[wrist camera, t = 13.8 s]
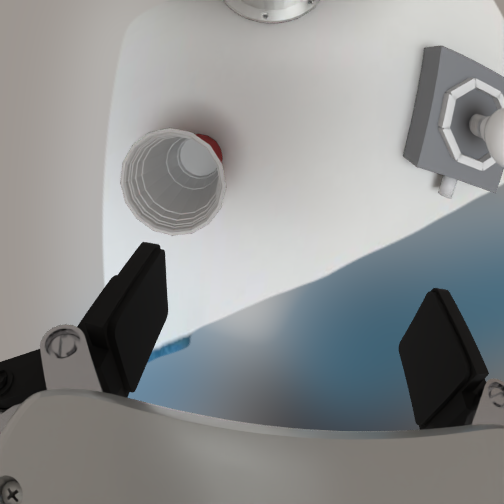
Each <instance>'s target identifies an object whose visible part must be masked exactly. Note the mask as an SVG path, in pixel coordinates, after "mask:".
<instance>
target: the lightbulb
mask: <svg viewBox="0 0 504 504" xmlns="http://www.w3.org/2000/svg"><path fill="white" fill-rule="evenodd" d="M469 128H470V130H471V132H472V133H473V134H474V135H475V136H478V137H480V138H482V139H483V140H484V141H485V142H486V146H487V149H488V151H489V153H490V155H491V156H492V158H493V159H494V160H495V162H496V163H497V164H498V165H500V166H501V167H502V168H504V108H501V109H499V110H497V111H495V112H494V113H493V114H492V115H491V116H487V117H486V116H483V115H480V114H475V115H473V116H472V117H471V119H470V121H469Z"/></svg>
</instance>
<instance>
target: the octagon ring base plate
mask: <svg viewBox="0 0 504 504" xmlns="http://www.w3.org/2000/svg"><path fill="white" fill-rule="evenodd" d="M501 108H504V77H503V76H501V75H499V74H498V73H496V72H494V71H492V70H490V69H489V68H487V67H485V66H483V65H481V64H479V63H477V62H476V61H474V60H472V59H470V58H468V57H466V56H464V55H461V54H459V53H457V52H455V51H453V50H451V49H448V48H446V47H444V46H434V47H427V48H424V55H423V62H422V68H421V74H420V80H419V86H418V91H417V96H416V101H415V106H414V111H413V116H412V120H411V125H410V129H409V134H408V138H407V142H406V146H405V150H404V154H403V156H404V157H405V158H406V159H407V160H409V161H410V162H411V163H412V164H414V165H415V166H416V167H418V168H422V169H425V170H428V171H432V172H435V173H438V174H441V175H444V176H443V179H442V182H441V185H440V188H439V191H438V193H439V194H440V195H442V196H444V197H446V198H450V199H451V198H452V195H453V192H454V189H455V186H456V183H457V180H460V181H463V182H465V183H468V184H471V185H474V186H477V187H480V188H482V189H485V190H488V191H490V192H493V193H496V191H497V188H498V185H499V182H500V179H501V176H502V172H503V169H504V168H502V167H501V166H500V165H498V164H497V163H496V162H495V160H494V159H493V158H492V156H491V155H490V153H489V151H488V149H487V146H486V142H485V141H484V140H483V139H482V138H480V137H478V136H475V135H474V134H473V133H472V132H471V130H470V128H469V121H470V119H471V117H472V116H473V115H475V114H480V115H483V116H486V117H487V116H491V115H492V114H493V113H494V112H495V111H497V110H499V109H501Z"/></svg>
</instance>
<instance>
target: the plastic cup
mask: <svg viewBox="0 0 504 504" xmlns="http://www.w3.org/2000/svg"><path fill="white" fill-rule="evenodd" d="M222 159H223V158H222V152H221V149H220V147H219V146H218V144H217V142H216V141H214V140H213V139H212V138H210V137H209V136H206V135H201V134H196V135H195V134H193V133H192V132H188V131H183V130H178V129H173V128H167V129H162V130H158V131H154V132H149V133H148V134H146V135H145V136H144V137H142V138H141V139H140V140H138V141H137V142H136V143H135V144H133V145H132V147H131V148H130V150H129V152H128V154H127V156H126V158H125V159H124V161H123V163H122V172H121V181H120V184H121V188H122V192H123V195H124V199H125V203H126V204H127V206H128V207H129V209H130V210H131V211H132V213H133V214H134V216H135V217H136V219H137V220H139V221H140V222H142V223H143V224H144V225H146V226H147V227H149V228H150V229H152V230H153V231H156V232H160V233H164V234H168V235H171V236H175V235H184V234H192V233H194V232H196V231H197V230H199V229H201V228H203V227H204V226H206V225H208V224H209V223H210V222H211V221H212V219H213V218H214V217H215V215H216V214H217V213H218V211H219V210H220V209H221V207H222V203H223V199H224V194H225V190H226V182H225V176H224V171H223V165H222Z"/></svg>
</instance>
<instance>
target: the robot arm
mask: <svg viewBox="0 0 504 504" xmlns="http://www.w3.org/2000/svg"><path fill="white" fill-rule="evenodd" d="M223 1H224V2H225V3H226V4H227V5H228V6H229V7H230V8H231V9H232V10H233V11H235V12H236V13H237V14H239V15H241V16H243V17H245V18H247V19H250V20H253V21H257V22H263V23H281V22H287V21H291V20H294V19H297V18H299V17H301V16H303V15H305V14H307V13H308V12H309V11H311V10H312V9H313V8H314V7H315V6H316V5H317V4H318V3H319V1H320V0H223ZM308 1H311V2H312V4H308ZM264 15H267V16H268V17H267V18H263V17H264ZM167 315H168V300H167V284H166V264H165V251H164V250H162V249H160V245H158V244H153V243H147V242H143V243H141V245H140V246H139V247H138V248H137V250H136V251H135V252H134V254H133V255H132V256H131V258H130V259H129V260H128V262H127V263H126V264H125V266H124V267H123V268H122V270H121V271H120V272H119V274H118V275H115V276H113V277H112V278H111V280H110V281H109V282H108V284H107V285H106V286H105V288H104V289H103V291H102V292H101V293H100V295H99V296H98V298H97V299H96V300H95V302H94V303H93V305H92V306H91V307H90V309H89V310H88V312H87V313H86V315H85V316H84V318H83V319H82V320H81V322H80V324H79V325H78V326H77V327H75V326H73V325H59V326H56V327H54V328H52V329H50V330H49V331H48V332H47V333H46V334H45V335H44V336H43V338H42V340H41V344H40V349H38V350H35V351H32V352H29V353H26V354H23V355H20V356H17V357H14V358H11V359H8V360H5V361H2V362H0V504H504V382H502V381H500V380H498V379H490V380H488V381H487V382H486V381H485V378H486V376H487V375H488V374H489V373H488V370H487V368H486V365H485V363H484V361H483V359H482V356H481V354H480V352H479V350H478V347H477V345H476V343H475V341H474V339H473V337H472V335H471V333H470V331H469V329H468V327H467V325H466V323H465V321H464V319H463V317H462V315H461V313H460V311H459V309H458V307H457V305H456V303H455V301H454V300H453V298H452V296H451V294H450V292H449V291H448V290H445V289H438V288H433V289H432V290H431V291H430V292H428V293H427V294H426V296H425V299H424V301H423V302H422V304H421V306H420V308H419V310H418V311H417V313H416V315H415V317H414V319H413V321H412V322H411V324H410V326H409V328H408V330H407V331H406V333H405V335H404V336H403V338H402V340H401V341H400V344H399V354H400V357H401V361H402V365H403V369H404V372H405V377H406V380H407V385H408V388H409V393H410V398H411V402H412V407H413V411H414V416H415V421H416V423H417V425H419V427H420V430H407V431H377V432H355V431H323V430H308V429H295V428H285V427H275V426H266V425H259V424H251V423H244V422H237V421H231V420H225V419H219V418H214V417H209V416H203V415H199V414H194V413H189V412H184V411H179V410H175V409H170V408H166V407H162V406H158V405H154V404H150V403H146V402H142V401H138V400H134V399H130V398H127V397H128V394H129V392H134V391H135V390H136V388H137V385H138V383H139V381H140V378H141V376H142V373H143V371H144V369H145V366H146V364H147V362H148V359H149V357H150V355H151V352H152V350H153V348H154V346H155V343H156V341H157V339H158V336H159V334H160V332H161V330H162V327H163V325H164V323H165V321H166V318H167Z"/></svg>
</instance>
